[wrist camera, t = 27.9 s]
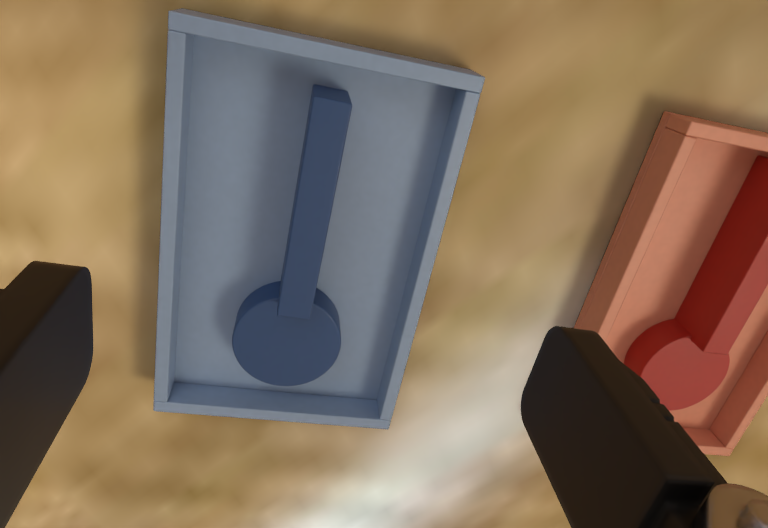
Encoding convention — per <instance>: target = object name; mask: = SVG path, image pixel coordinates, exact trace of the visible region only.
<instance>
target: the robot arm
mask: <svg viewBox="0 0 768 528" xmlns="http://www.w3.org/2000/svg"><path fill="white" fill-rule="evenodd" d="M92 356H93V321H92V284H91V275H90V272H89V270H88V268H86V267H80V266H72V265H64V264H56V263H48V262H40V261H33V262H31V263H30V264H29V265H28V266H27V267H26V268H25V269H24V270H23V271H22V272H21V273H20V274H19V275H18V276H17V277H16V278H15V279H14V280H13V281H12V282H11V283H10V284H9V285H8V286H7V287H6V288H5V289H0V528H5V526H6V524H7V523H8V521H9V519H10V517H11V516H12V514H13V512H14V510H15V508H16V507H17V505H18V503H19V501H20V499H21V498H22V496H23V494H24V492H25V490H26V489H27V487H28V485H29V483H30V482H31V480H32V478H33V476H34V474H35V473H36V471H37V469H38V467H39V465H40V464H41V462H42V460H43V458H44V457H45V455H46V453H47V451H48V449H49V448H50V446H51V444H52V442H53V440H54V439H55V437H56V435H57V433H58V432H59V430H60V428H61V426H62V424H63V423H64V421H65V419H66V417H67V415H68V414H69V412H70V410H71V408H72V406H73V405H74V403H75V401H76V399H77V398H78V396H79V394H80V392H81V390H82V389H83V387H84V385H85V383H86V380H87V377H88V375H89V371H90V367H91V362H92ZM521 415H522V420H523V423H524V426H525V428H526V430H527V432H528V435H529V437H530V439H531V441H532V443H533V445H534V448H535V450H536V452H537V454H538V456H539V458H540V461H541V463H542V465H543V467H544V469H545V471H546V474H547V476H548V478H549V480H550V482H551V484H552V486H553V489H554V491H555V493H556V495H557V497H558V499H559V502H560V504H561V506H562V508H563V510H564V512H565V515H566V517H567V519H568V521H569V523H570V525H571V528H768V496H767V495H765V494H763V493H761V492H758V491H756V490H754V489H751V488H748V487H745V486H742V485H737V484H728V483H727V482H726V481H725V480H724V478H723V477H722V476H721V475H720V473H719V472H718V471H717V470H716V468H715V467H714V466H713V465H712V463H711V462H710V461H709V460H708V458H707V457H706V456H705V455H704V454H703V452H702V451H701V450H700V449H699V447H698V446H697V445H696V444H695V442H694V441H693V440H692V439H691V437H690V436H689V435H688V434H687V432H686V431H685V430H684V429H683V428H682V426H681V425H680V424H679V423H678V422H674V416H673V415H672V414H671V413H670V411H669V410H668V409H667V408H666V406H665V405H664V404H660V399H659V398H658V397H657V395H656V394H655V393H654V392H653V390H652V389H651V388H650V387H649V385H648V384H647V383H646V382H645V380H644V379H643V378H641V377H640V376H639V375H637V374H636V373H635V372H634V371H632V370H631V369H630V368H629V367H627V366H626V365H625V364H623V363H622V362H621V361H620V360H619V359H618V358H617V357H616V356H615V354H614V353H613V352H612V350H611V349H610V348H609V347H608V345H607V344H606V343H605V342H604V340H603V339H602V338H601V336H600V335H599V334H598V333H597V332H595V331H591V330H583V329H575V328H567V327H559V326H555V327H553V328H551V329H550V330H549V331H548V333H547V334H546V336H545V338H544V341H543V343H542V346H541V348H540V351H539V353H538V356H537V358H536V361H535V363H534V366H533V368H532V371H531V373H530V375H529V378H528V380H527V383H526V385H525V388H524V391H523V394H522V400H521Z"/></svg>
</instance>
